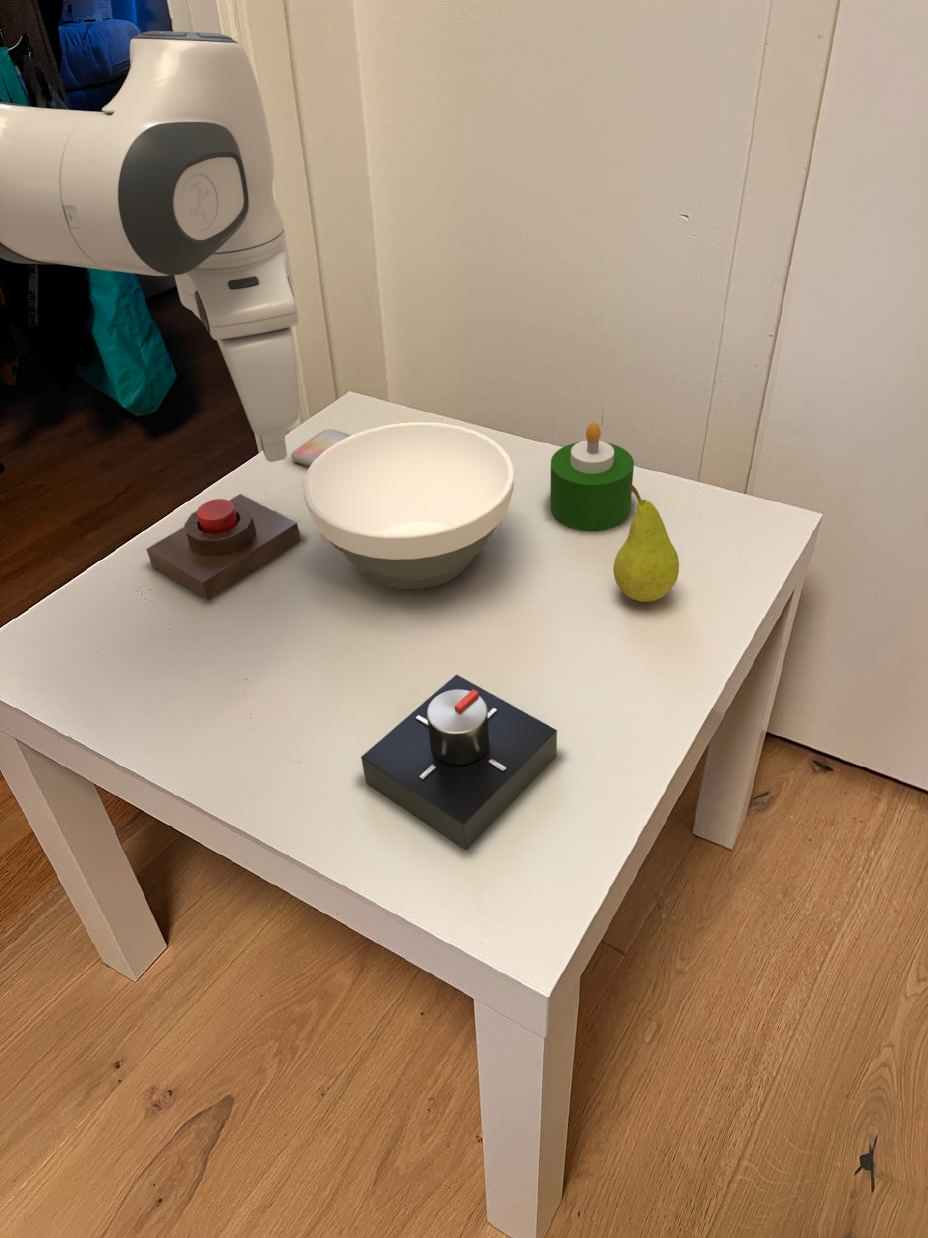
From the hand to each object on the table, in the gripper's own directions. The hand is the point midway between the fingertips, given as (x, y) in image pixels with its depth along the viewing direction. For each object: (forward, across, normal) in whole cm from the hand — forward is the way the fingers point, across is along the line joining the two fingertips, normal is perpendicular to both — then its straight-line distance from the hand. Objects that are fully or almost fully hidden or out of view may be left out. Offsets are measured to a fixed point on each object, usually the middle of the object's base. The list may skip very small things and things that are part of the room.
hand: (265, 430), depth 82 cm
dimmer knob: (+13, +29, +7) cm, 33 cm away
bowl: (+16, +2, +12) cm, 20 cm away
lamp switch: (+16, -6, -6) cm, 18 cm away
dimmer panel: (+16, +29, +7) cm, 34 cm away
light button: (+12, -6, -6) cm, 15 cm away
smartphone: (+16, -17, +11) cm, 26 cm away
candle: (+16, +2, +31) cm, 35 cm away
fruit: (+16, +16, +29) cm, 37 cm away
